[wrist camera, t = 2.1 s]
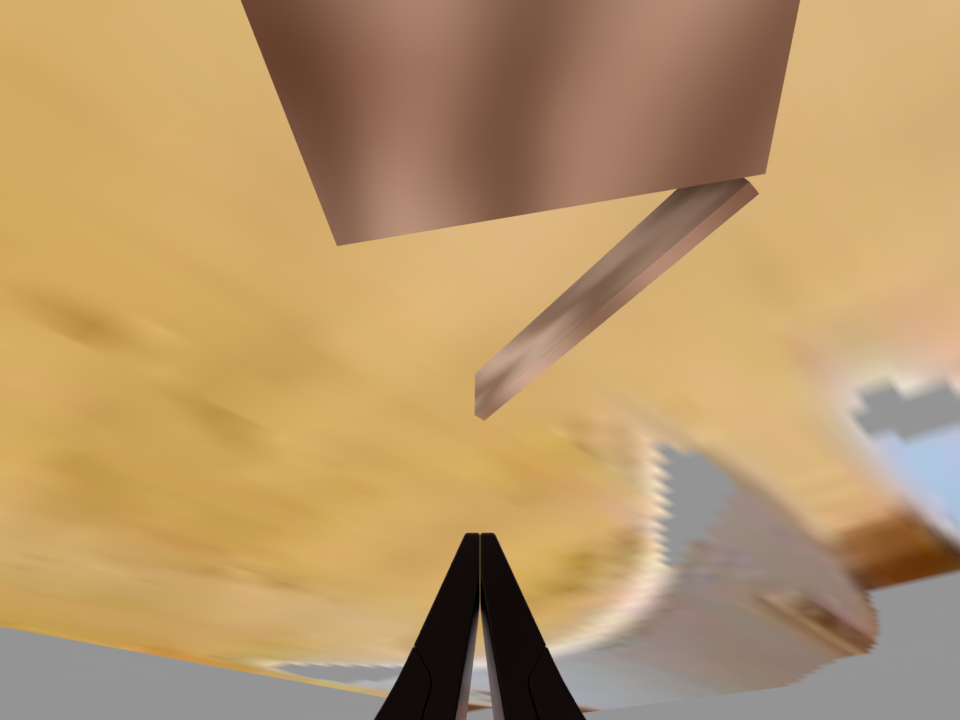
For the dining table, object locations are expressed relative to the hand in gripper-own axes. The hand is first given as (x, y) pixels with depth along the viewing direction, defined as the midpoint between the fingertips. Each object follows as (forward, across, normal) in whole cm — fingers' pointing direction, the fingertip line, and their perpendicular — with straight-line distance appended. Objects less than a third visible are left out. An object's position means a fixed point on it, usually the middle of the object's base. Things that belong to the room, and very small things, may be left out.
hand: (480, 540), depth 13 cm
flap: (+12, +5, +1) cm, 12 cm away
